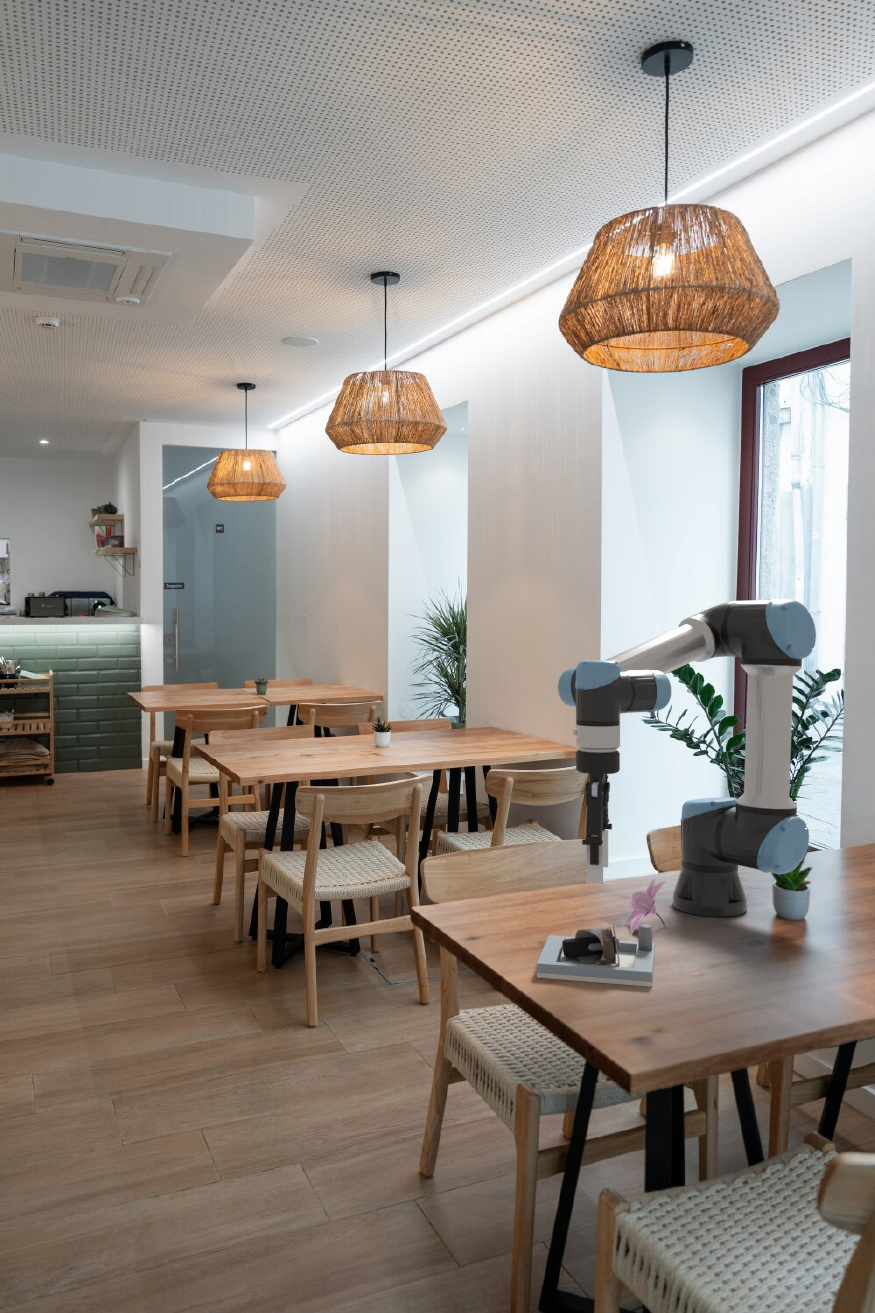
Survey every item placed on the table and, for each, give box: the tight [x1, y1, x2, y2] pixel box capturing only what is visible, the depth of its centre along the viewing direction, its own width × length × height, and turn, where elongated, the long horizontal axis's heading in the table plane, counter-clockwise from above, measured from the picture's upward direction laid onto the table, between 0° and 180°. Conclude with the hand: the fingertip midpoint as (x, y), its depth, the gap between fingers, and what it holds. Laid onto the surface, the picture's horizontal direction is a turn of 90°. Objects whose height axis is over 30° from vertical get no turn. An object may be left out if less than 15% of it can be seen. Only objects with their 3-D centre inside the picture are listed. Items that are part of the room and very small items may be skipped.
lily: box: [625, 877, 667, 935], centre depth 194 cm, size 12×12×10 cm
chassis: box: [536, 924, 656, 988], centre depth 172 cm, size 19×16×6 cm
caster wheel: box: [562, 923, 620, 966], centre depth 172 cm, size 7×11×10 cm
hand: (597, 874), depth 172 cm, fingers open, 11 cm apart
